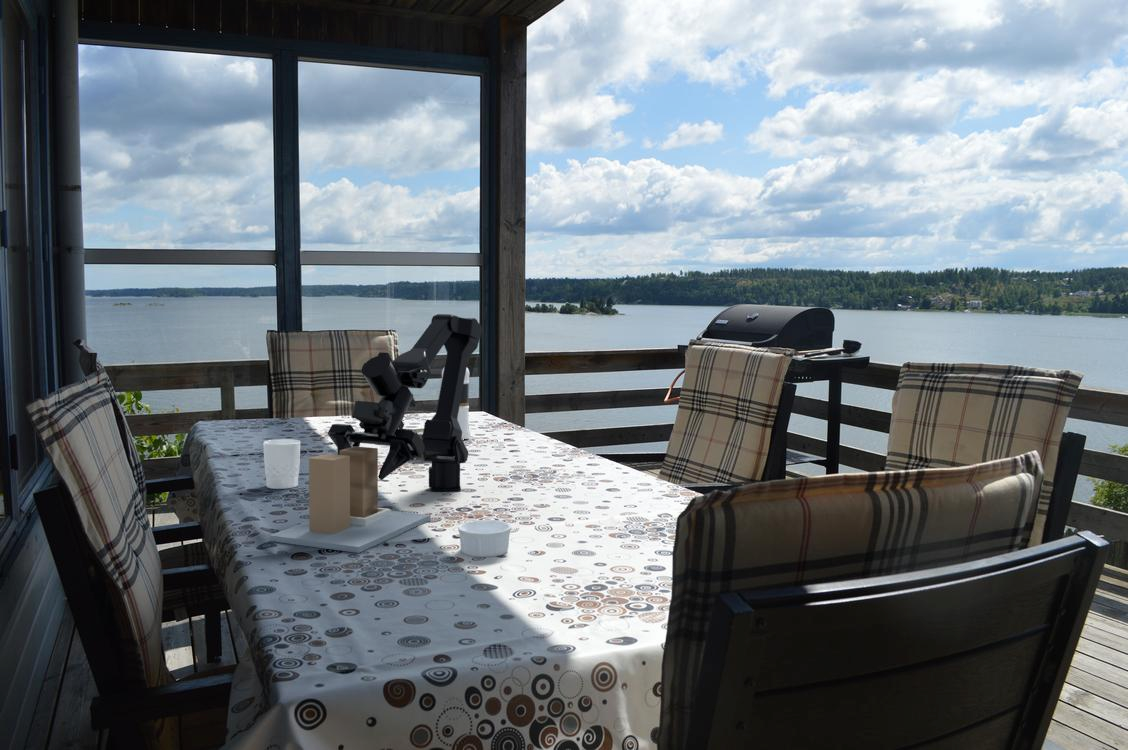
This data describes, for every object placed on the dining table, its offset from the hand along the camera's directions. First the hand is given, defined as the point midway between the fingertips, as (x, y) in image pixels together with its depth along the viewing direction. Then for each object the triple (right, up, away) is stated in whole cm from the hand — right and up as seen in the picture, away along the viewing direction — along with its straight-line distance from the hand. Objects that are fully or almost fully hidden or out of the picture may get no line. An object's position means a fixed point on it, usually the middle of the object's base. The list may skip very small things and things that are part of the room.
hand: (358, 476), depth 164 cm
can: (+2, -3, +73) cm, 74 cm away
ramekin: (+25, -11, -16) cm, 31 cm away
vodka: (+5, -1, +104) cm, 104 cm away
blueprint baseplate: (0, -9, -4) cm, 10 cm away
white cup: (-25, -6, +32) cm, 41 cm away
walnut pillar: (0, -8, +1) cm, 8 cm away
